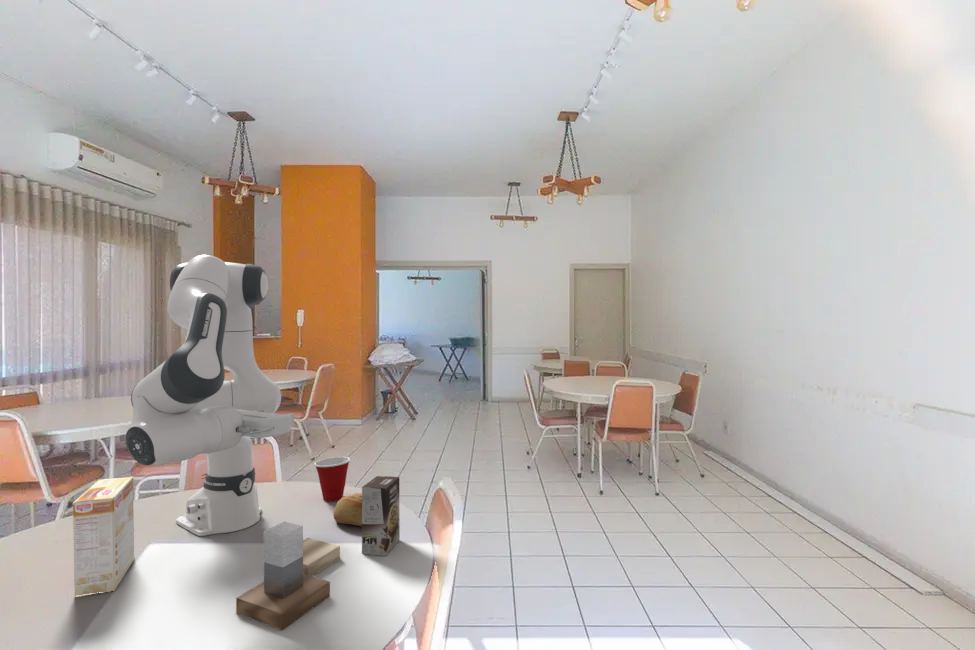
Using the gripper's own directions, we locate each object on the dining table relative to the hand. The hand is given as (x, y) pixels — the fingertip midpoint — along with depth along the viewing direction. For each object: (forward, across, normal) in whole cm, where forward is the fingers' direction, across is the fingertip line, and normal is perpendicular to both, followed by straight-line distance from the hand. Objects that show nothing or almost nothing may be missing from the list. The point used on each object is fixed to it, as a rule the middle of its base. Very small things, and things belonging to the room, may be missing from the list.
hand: (276, 415), depth 112 cm
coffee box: (+17, -16, +34) cm, 41 cm away
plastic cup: (+37, +18, +34) cm, 54 cm away
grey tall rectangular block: (-11, -14, +31) cm, 36 cm away
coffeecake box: (-20, +29, +34) cm, 49 cm away
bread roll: (+26, -2, +34) cm, 43 cm away
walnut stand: (-11, -14, +34) cm, 38 cm away
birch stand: (+3, -6, +34) cm, 35 cm away
